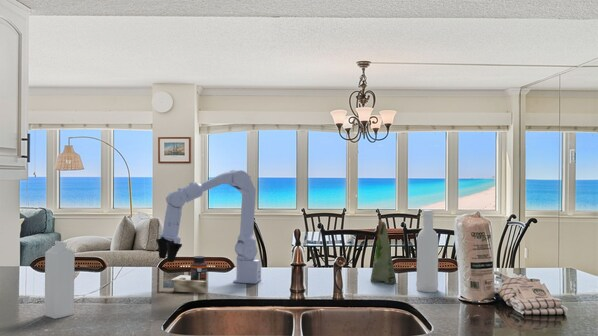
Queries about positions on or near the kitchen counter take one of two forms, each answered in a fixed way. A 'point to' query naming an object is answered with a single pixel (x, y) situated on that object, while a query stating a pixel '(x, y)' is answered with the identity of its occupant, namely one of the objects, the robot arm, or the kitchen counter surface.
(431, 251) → the bottle
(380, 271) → the pouch
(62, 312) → the milk
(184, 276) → the mat
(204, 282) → the corner holder
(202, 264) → the supplement bottle
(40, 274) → the kitchen counter surface
